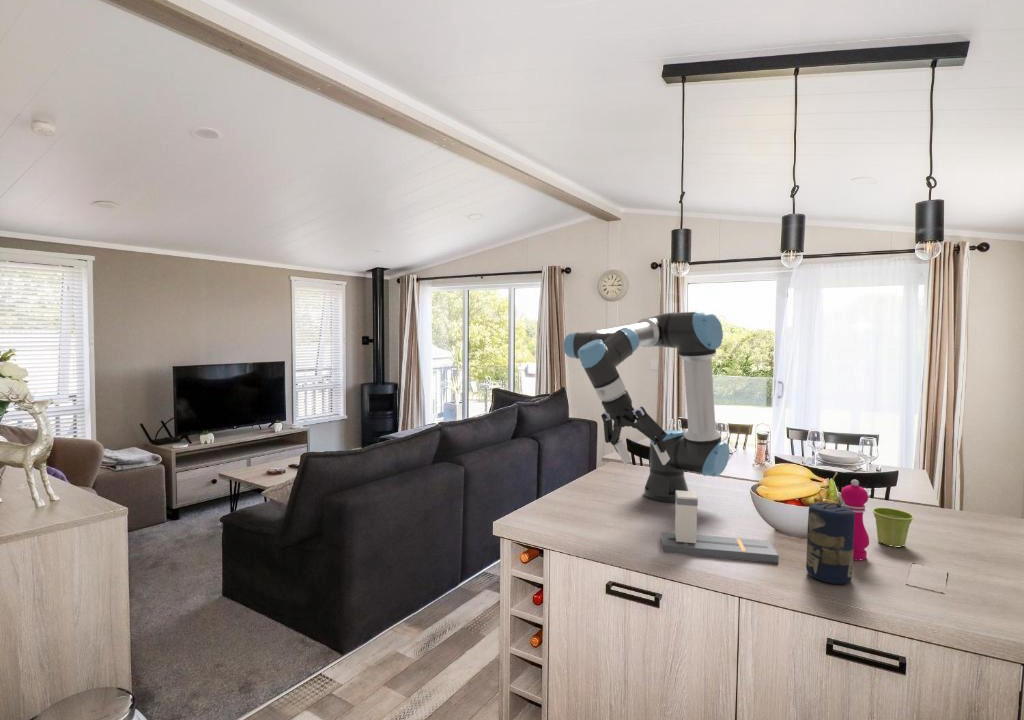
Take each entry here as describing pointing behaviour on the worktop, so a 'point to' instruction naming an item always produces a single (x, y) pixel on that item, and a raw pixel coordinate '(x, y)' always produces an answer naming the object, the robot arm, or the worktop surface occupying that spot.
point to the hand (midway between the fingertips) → (646, 462)
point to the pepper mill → (857, 516)
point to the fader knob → (686, 516)
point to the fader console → (721, 547)
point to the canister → (830, 542)
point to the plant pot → (892, 525)
